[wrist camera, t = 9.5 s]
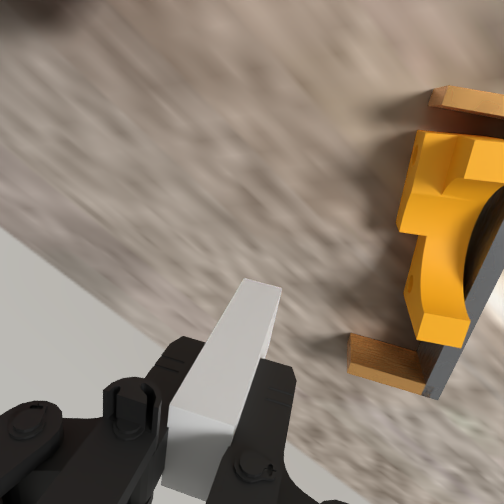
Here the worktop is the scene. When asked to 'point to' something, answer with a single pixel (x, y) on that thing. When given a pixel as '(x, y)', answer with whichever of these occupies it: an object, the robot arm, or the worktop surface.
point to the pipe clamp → (445, 225)
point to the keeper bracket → (474, 281)
